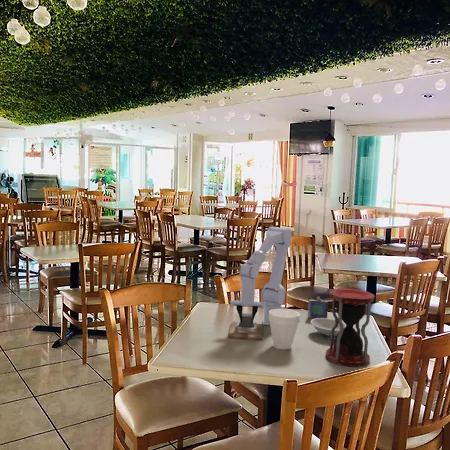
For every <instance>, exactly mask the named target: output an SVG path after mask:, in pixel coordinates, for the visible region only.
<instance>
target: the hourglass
mask: <svg viewBox="0 0 450 450" xmlns="http://www.w3.org/2000/svg"><path fill="white" fill-rule="evenodd" d="M328 295H329V297H330V298H331V299H332V311H331V313H332V316H333V318H334V320H335V325H334V327H333V328H332V330H331V335H330V339H329V341H330V342H329V348H327V349H326V350H325V357H326V359H328V361H330V362H332V363H334V364H338V365H340V366H344V367H345V366H346V367H364V366H367V365H368V364H370V359H371V357H370V354H368V344H369V341H368V337H367V335H366V330H365V329H366V327H367V326H368V325H369V323H370V318H371V305H372V303H374V302H375V294H373V293H371V292H369V291H366V290H360V289H356V288H355V289H354V288H332V289H331V290H329V293H328ZM366 304H367V305H366ZM336 312H337V313H336ZM337 315H338V316H337ZM365 315H366V319H365V322H364V323H363V324H362V326H361V328H360V321H361V320H362V319H363V318H364V316H365ZM342 323H344V324H345V325H346V327H345V328H343V324H342ZM338 324H339V325H340V331H339V333H338V334H337V335H334V330H335V329H336V328H337V327H338ZM354 326H355V328H354ZM334 336H335V337H334ZM361 336H362V337H363V339H362V337H361Z"/></svg>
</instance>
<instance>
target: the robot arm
mask: <svg viewBox="0 0 450 450" xmlns="http://www.w3.org/2000/svg"><path fill="white" fill-rule="evenodd" d="M292 236H293V234H292V232H291V230H290V229H289V228H288V227H287V228H285V227H277V226H270V227H268V228H267V231H266V232H265V239H264V241H263V242H262V244H260V245H261V246H260V247H259V249H258V250H255V251H253V253H252V255H251V256H250V257H249V259H248V260H247V261H246V263H243V264H242V265H240V268H239V270H238V271H239V275H240V281H241V291H240V300H238V299H237V300H233V299H232V300H230V301H229V303H230V304H229V305H230V307H236V311H237V314H238V317H239V322H240V323H242V314H243V307H248V308H249V307H250V308H251V314H252V319H251V324H253V323H254V320H255V317H256V314H257V313H258V310H259V308H262V309H263V310H264V311H263V319H262V324H263V326H270V322H269V320H268V318H269V311H270V310H273V309H286V305H285V304H284V302H285V299H286V295H285V294H286V289H285V287H284V286H283V285H282V280H283V276H284V270H285V267H286V266H285V265H286V260H287V256H288V251H289V248H290V247H291V246H290V245H291V239H292ZM273 246H274V247H275V252H274V253H275V254H274V258H273V264H272V266H271V267H272V269H271V271H270V272H271V273H270V277H269V281H268V282H267V283H265V284H264V286H263V289H262V291H261V294H260V298H261V300H262V301H255V295H256V278H257V277H258V276H259V273H260V270H261V266H262V265H263V264H264V262H265V261H266V255H267V253H268V252H269V251H270V250H271V248H272V247H273Z"/></svg>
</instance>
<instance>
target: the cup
mask: <svg viewBox="0 0 450 450" xmlns="http://www.w3.org/2000/svg"><path fill="white" fill-rule="evenodd" d="M300 316H301V315H300V312H298V311H296V310H294V309H293V310H292V309H289V308H285V309H273V310H270V311H269V318H268V320H269V322H270V325H269V326H270V332H271V338H272V343H273V347H274V348H275V349H278V350H282V351H283V350H285V351H286V350H290V349H291V348H292V345H293V343H294V339H295V336H296V332H297V329H298V327H299V323H300V321H301V319H300Z"/></svg>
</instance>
